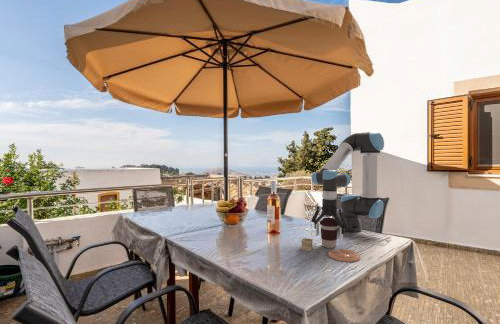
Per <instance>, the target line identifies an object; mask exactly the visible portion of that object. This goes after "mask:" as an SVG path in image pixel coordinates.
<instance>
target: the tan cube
mask: <svg viewBox="0 0 500 324" xmlns="http://www.w3.org/2000/svg"><path fill="white" fill-rule="evenodd" d="M300 245H301V251H308V252H312V249H313V238H308V237H307V238H304V237H303V238H302V239H301V244H300Z"/></svg>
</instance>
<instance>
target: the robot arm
mask: <svg viewBox="0 0 500 324" xmlns="http://www.w3.org/2000/svg"><path fill="white" fill-rule="evenodd" d="M384 147H385V140H384V137H383V136H382V134H381V133H380V132H378V131H368V132H365V131H364V132H355V133H353V134H351V135H350V134H349V136H347V137H345V139H344V140H342V142H340V144H339V145H338V148H337V150H336V151H335V152H334V153H333V155H332V156H331V157H330V158H329V159H328V160H327V162H326V163H325V164H324V165H323V166H322V168H321V169H320V170H319V171H314V172H313V173H312V174H311V177H310V178H311V181H312V184H314V185H319V186H320V185H321V186H322V199H321V201H322V202H321V203H322V204H321V205H318V206H316V210H315V212H314V215H313V216H312V218H311V220H310V222H311V223H313V225H314V227H313V229H314V230H315V237H317V236H319V235H320V221H321V220H322V219H323V218H324V216H325V217H327V216H329V217H332V218H334V219H336V221H337V222H338V224H339V225H338V226H337V229H338V230H339V241H343V240H344V235H345V233H346V232H350V233H359V232H361V231H362V223H361V221H360V217H366V218H370V219H378V218H379V217H381V216H382V213H383V212H384V202H383V200H381V199H380V197H381V196H380V195H378V156H379V155H380V154H381V151H382V150H384ZM358 151H359V154H360V155H361V156H362V177H361V178H362V182H361V183H362V185H361V186H362V188H361V190H362V192H361V194H349V195H347V194H346V195H342V196H341V197H340V208H337V207H338V200H337V198H338V195H337V194H338V191H337V190H338V188H341V187H343V188H344V187H347V186H349V185H350V184H351V177H350V175H349V174H347V173H344V172H340V173H339V172H337V170H338V169H339V168H340V166H341V165H342V164H343V163H344V161H346V159H347V158H348V156H350V155H352V154H353V153H354V152H358ZM320 211H322V213H321V214H320V215H319V213H320ZM337 213H338V214H339V215H338V214H337Z"/></svg>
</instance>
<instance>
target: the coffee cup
mask: <svg viewBox="0 0 500 324" xmlns="http://www.w3.org/2000/svg"><path fill="white" fill-rule="evenodd" d="M338 225H339V224H338V222H337V221H336V219H335V218H334V217H322V218H321V220H320V221H319V226H320V238H321V245H322V247H323V248H328V249H335V248H336V246H337V239H338V231H339V229H338Z"/></svg>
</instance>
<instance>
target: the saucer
mask: <svg viewBox="0 0 500 324" xmlns="http://www.w3.org/2000/svg"><path fill="white" fill-rule="evenodd" d="M327 252H328V253H327V255H328V258H330V259H332V260H334V261H338V262H344V263H354V262H359V261H360V260H361V257H362V256H361V254H360V253H358V252H356V251H354V250H350V249H349V250H348V249H343V248H336V249H335V248H333V249H330V250H328V251H327Z"/></svg>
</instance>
